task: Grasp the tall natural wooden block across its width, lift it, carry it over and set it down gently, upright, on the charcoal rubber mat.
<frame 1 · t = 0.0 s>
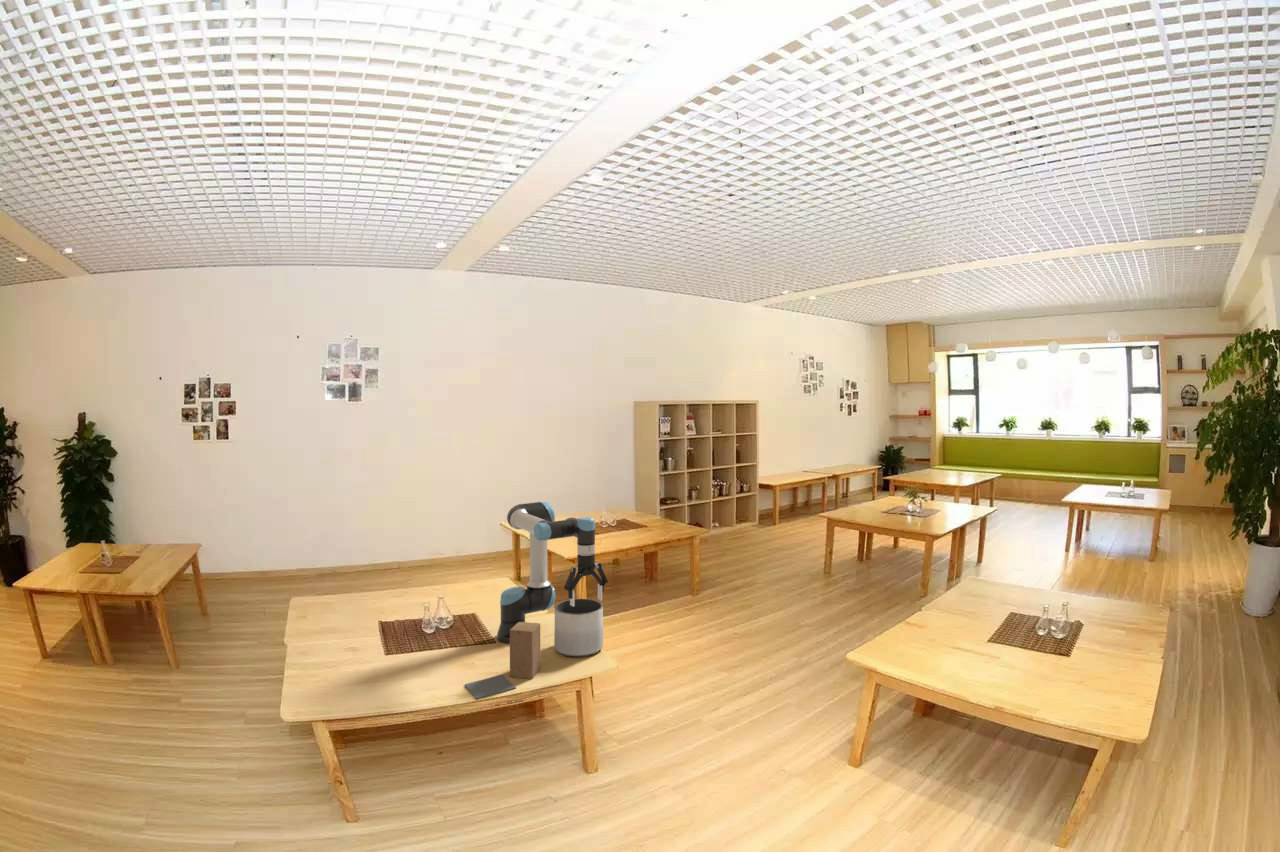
hand: (586, 602, 263), 28 cm above the table, fingers open, 13 cm apart
planter: (579, 649, 284), on the table
wooden block: (525, 673, 258), on the table
mat: (490, 687, 245), on the table
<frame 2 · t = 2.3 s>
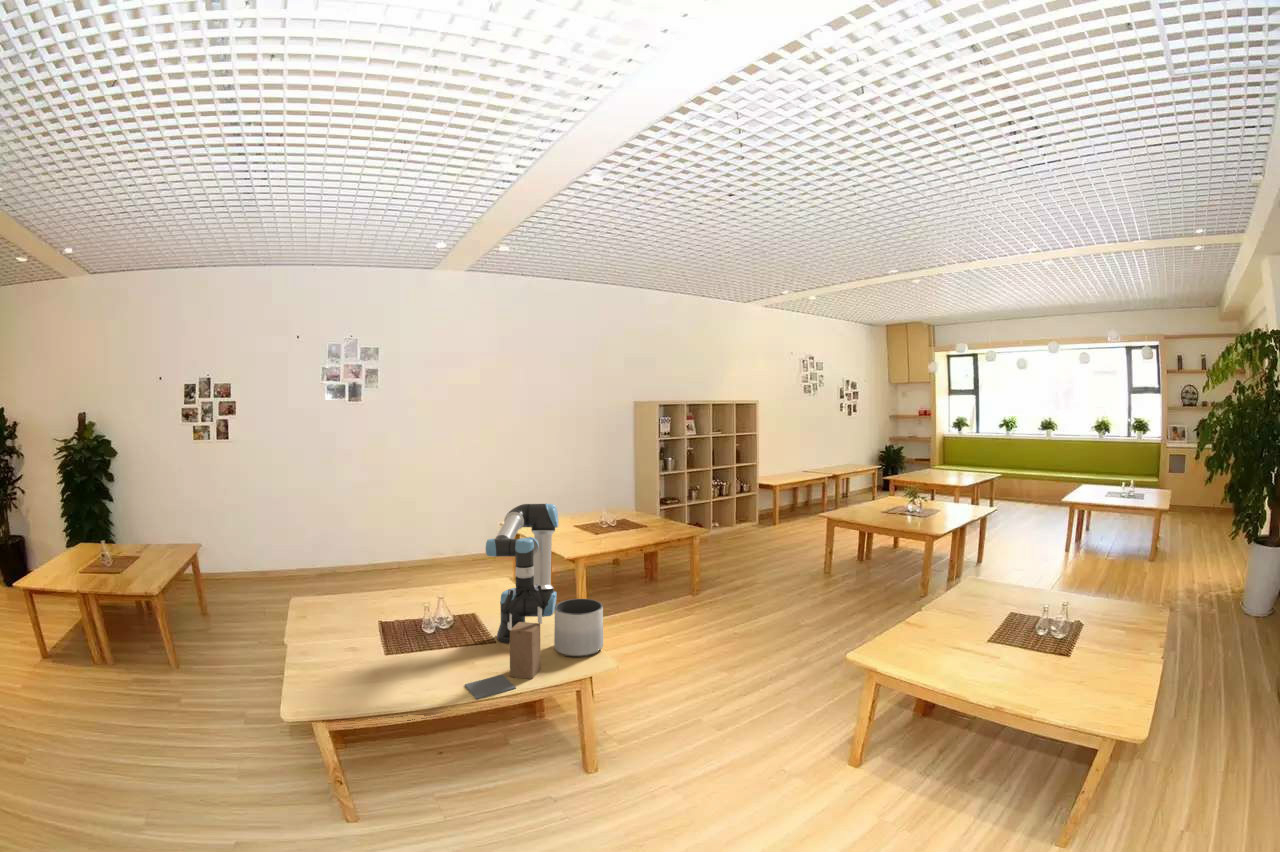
hand: (525, 626, 257), 20 cm above the table, fingers open, 13 cm apart
wooden block: (525, 673, 258), on the table, touching gripper
everything else where it was.
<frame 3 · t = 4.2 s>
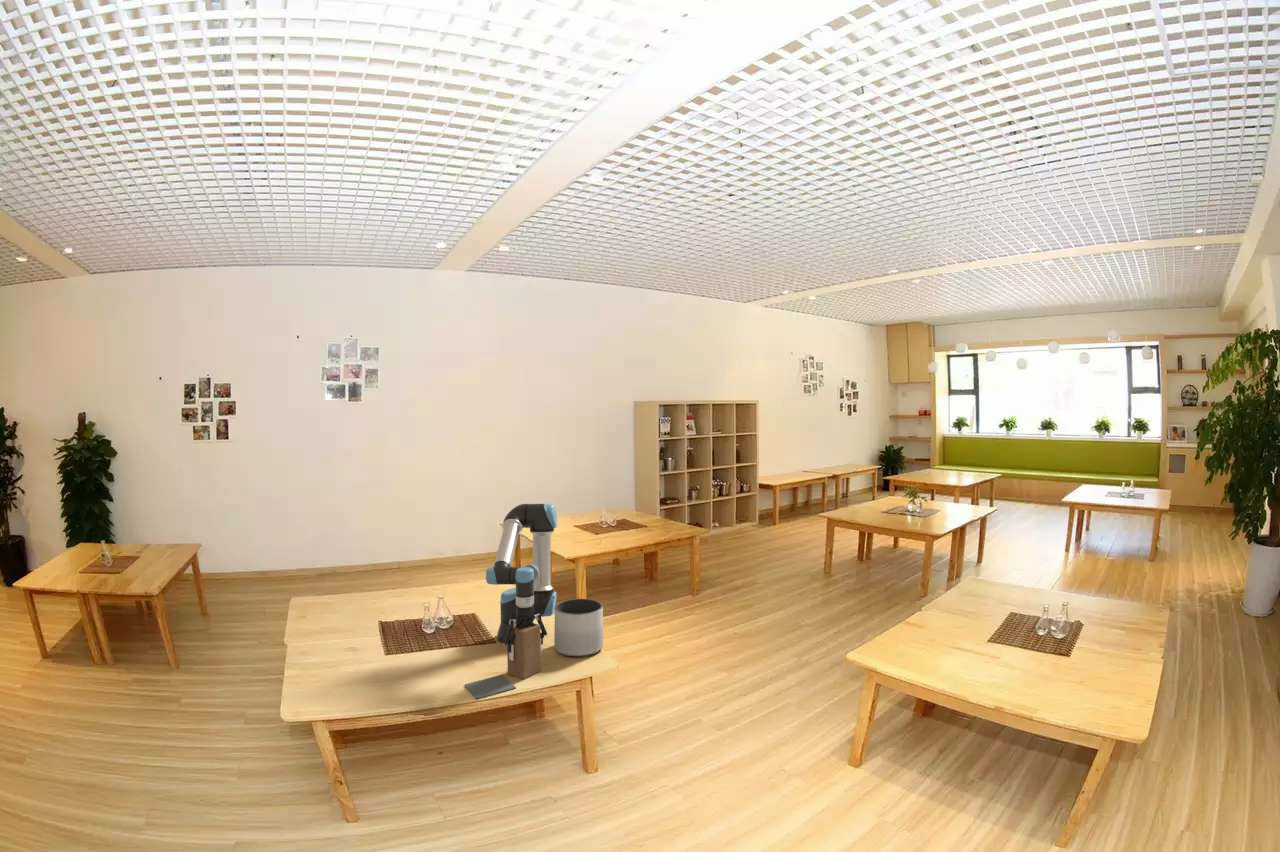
hand: (525, 656, 258), 7 cm above the table, fingers closed on wooden block, 12 cm apart
wooden block: (524, 673, 258), on the table, touching gripper
everything else where it was.
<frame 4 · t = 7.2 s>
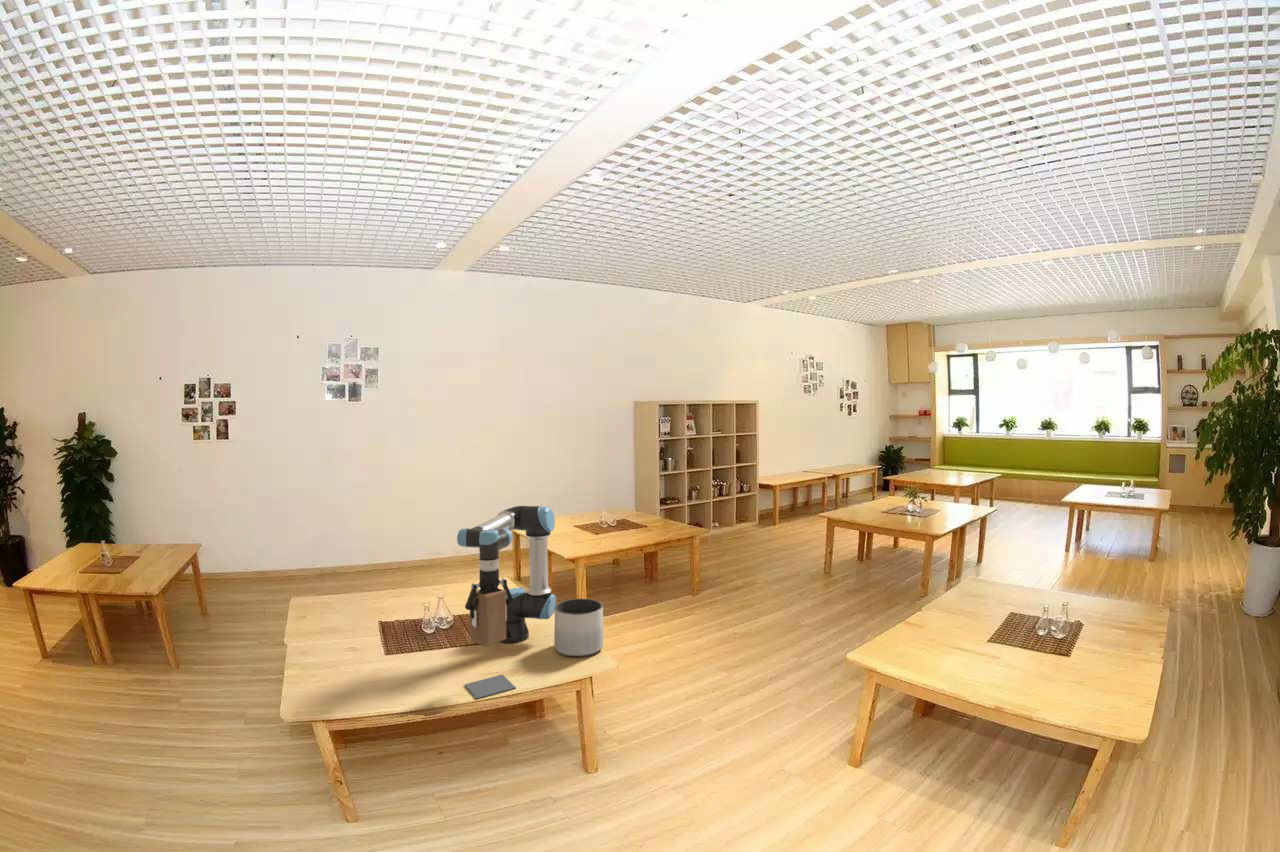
hand: (489, 622, 244), 26 cm above the table, fingers closed on wooden block, 12 cm apart
wooden block: (488, 641, 245), point 19 cm above the table, touching gripper
everything else where it was.
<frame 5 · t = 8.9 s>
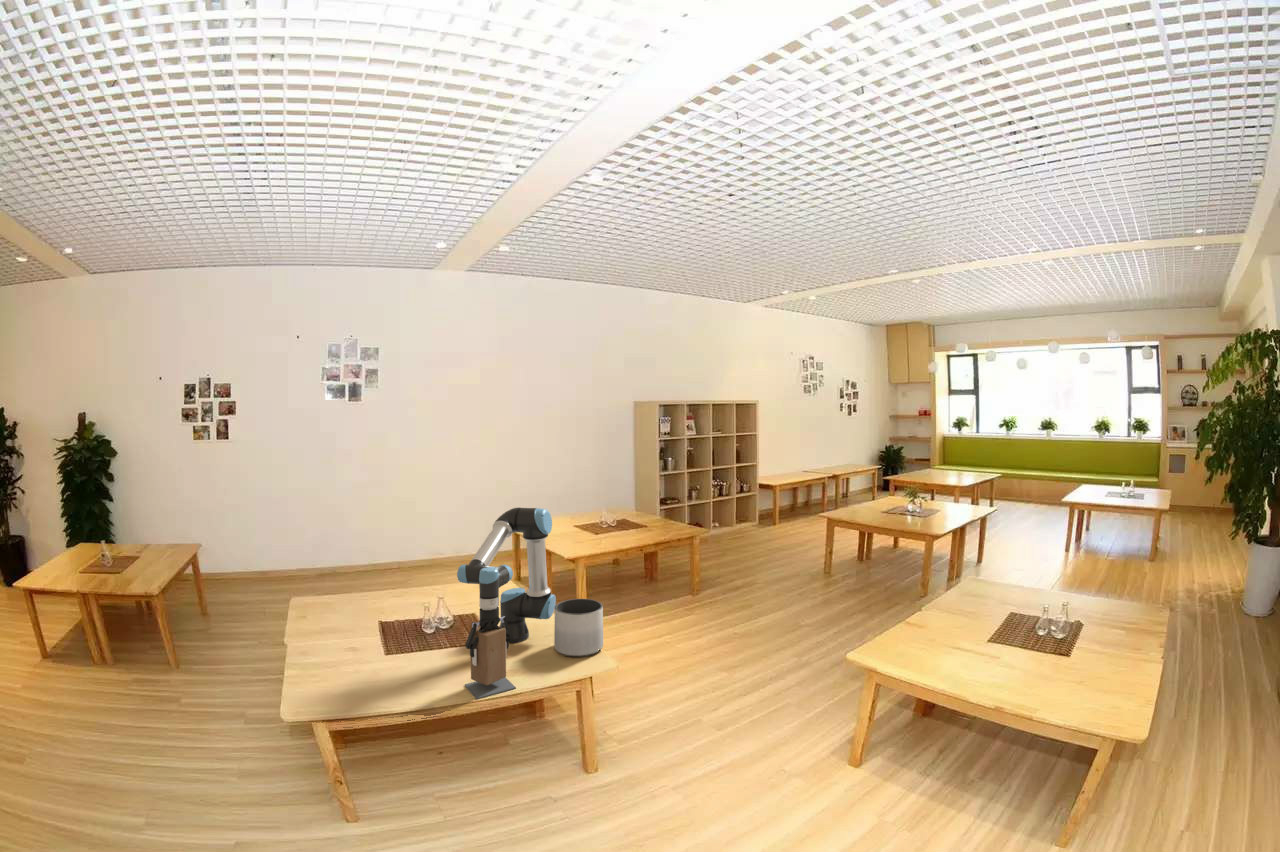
hand: (489, 660, 245), 11 cm above the table, fingers closed on wooden block, 12 cm apart
wooden block: (488, 678, 245), point 3 cm above the table, touching gripper
everything else where it was.
when the fingers open (9 cm above the table, at t = 10.2 s): wooden block drops 1 cm, resting on mat.
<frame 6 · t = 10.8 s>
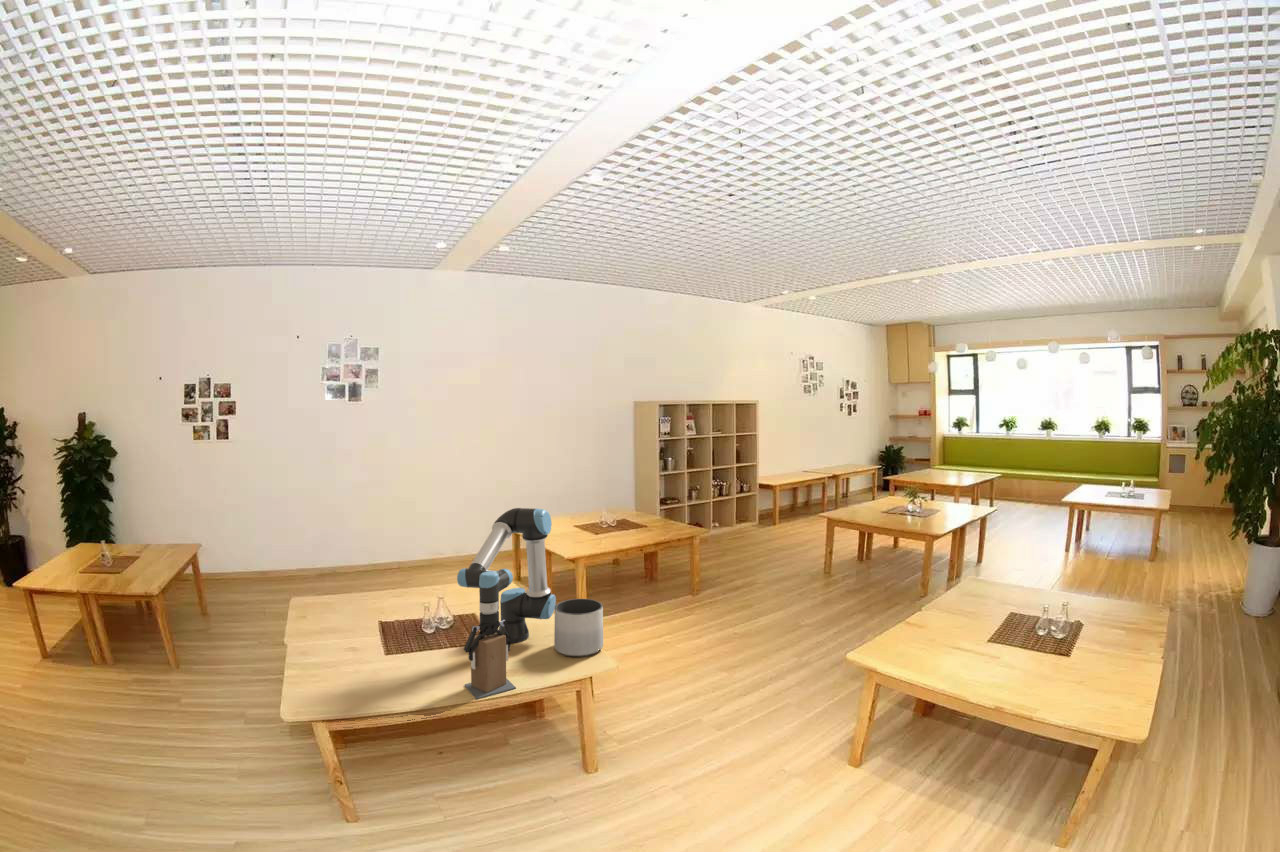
hand: (489, 663, 245), 10 cm above the table, fingers open, 13 cm apart
wooden block: (488, 685, 246), resting on mat
everything else where it was.
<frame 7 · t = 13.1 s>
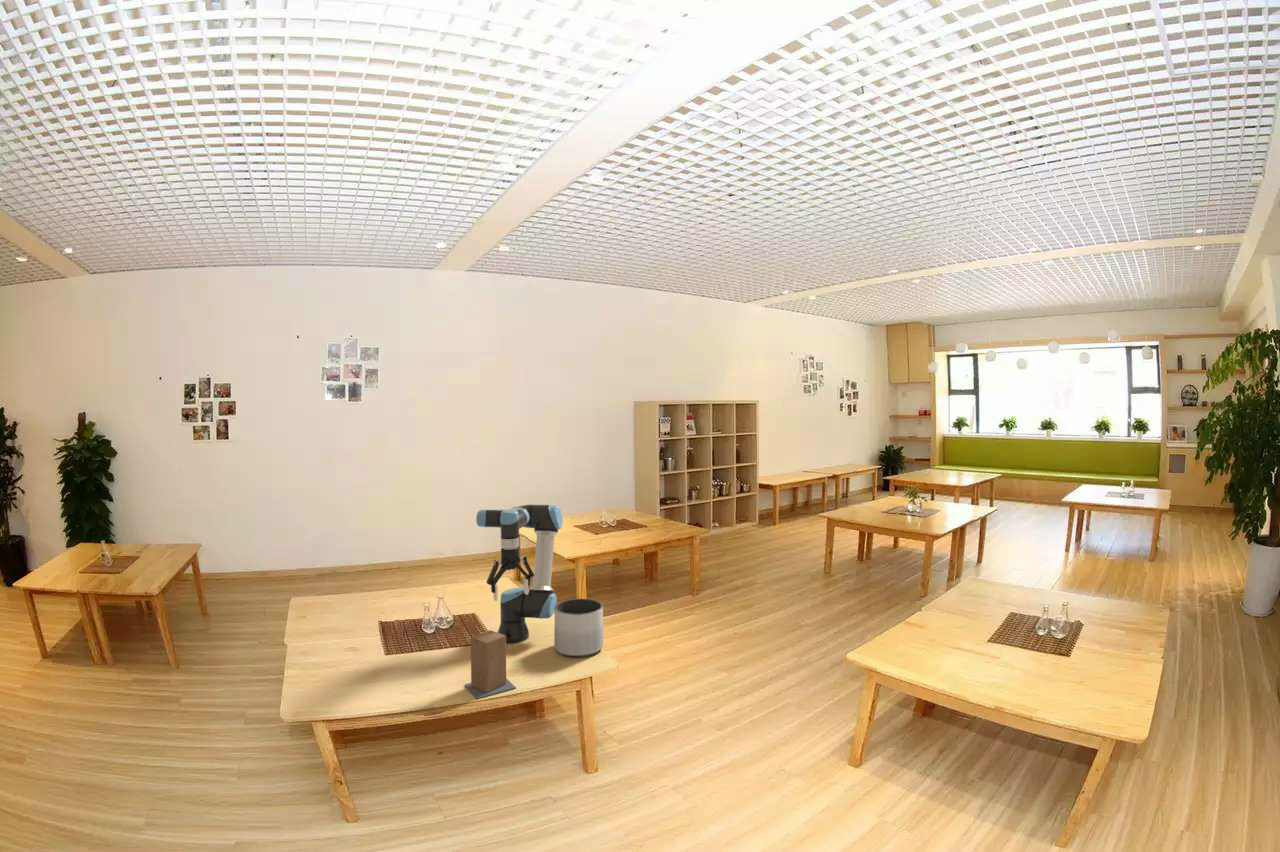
hand: (511, 596, 258), 32 cm above the table, fingers open, 13 cm apart
nothing on the table moved.
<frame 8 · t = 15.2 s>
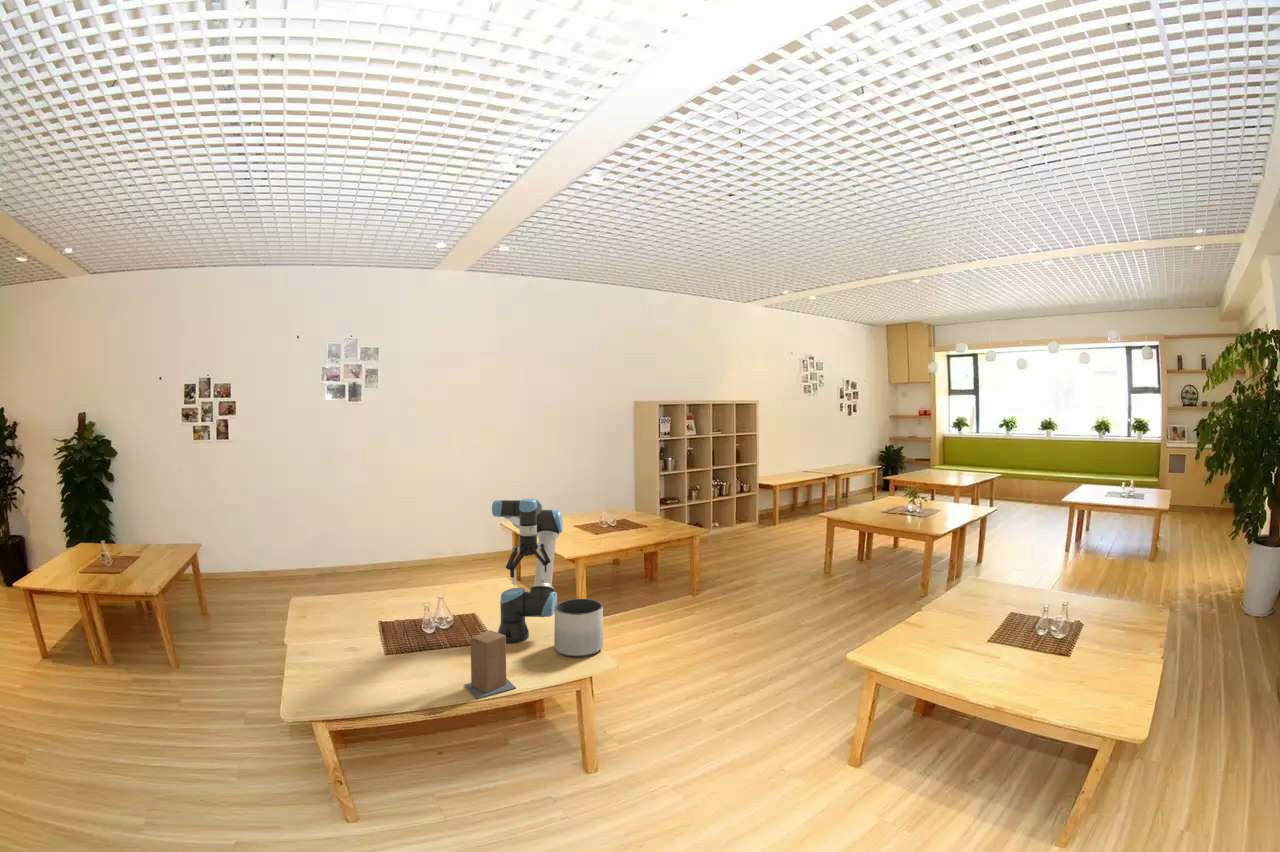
hand: (528, 582, 270), 35 cm above the table, fingers open, 13 cm apart
nothing on the table moved.
at the end: wooden block inside the target area on the mat (0.7 cm from its centre), point 0.4 cm above the mat's base; wooden block tilted 0°; the gripper is holding nothing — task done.
